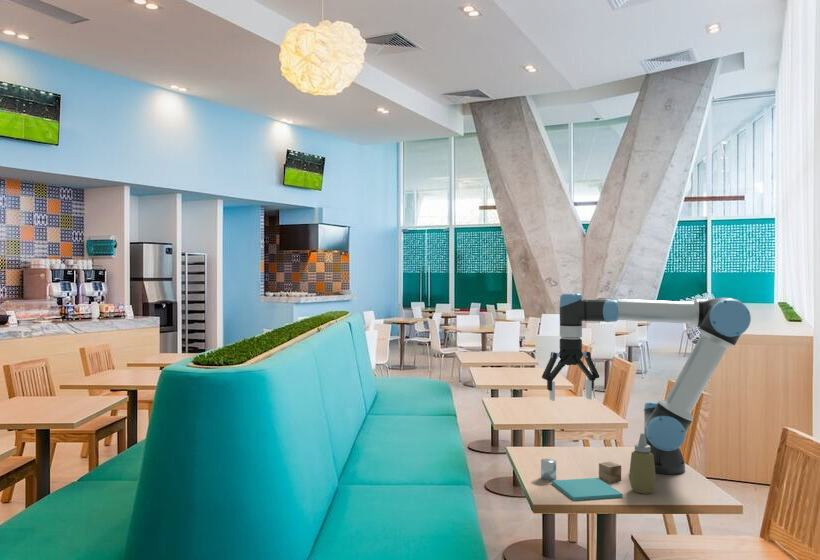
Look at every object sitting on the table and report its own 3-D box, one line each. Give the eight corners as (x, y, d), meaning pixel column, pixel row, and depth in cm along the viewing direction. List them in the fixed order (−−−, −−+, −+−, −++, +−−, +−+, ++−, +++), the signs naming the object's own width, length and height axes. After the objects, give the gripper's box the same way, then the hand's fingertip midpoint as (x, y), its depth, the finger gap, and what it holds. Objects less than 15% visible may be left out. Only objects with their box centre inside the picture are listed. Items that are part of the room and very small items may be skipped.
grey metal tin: (552, 476, 216) (552, 458, 216) (558, 480, 211) (558, 462, 211) (538, 477, 215) (538, 459, 215) (544, 481, 210) (544, 463, 210)
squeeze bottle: (624, 491, 200) (624, 434, 200) (634, 485, 206) (634, 429, 206) (650, 497, 195) (651, 438, 195) (659, 490, 201) (660, 433, 201)
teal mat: (597, 480, 211) (597, 477, 211) (622, 497, 195) (622, 493, 195) (551, 483, 208) (551, 480, 208) (573, 500, 192) (573, 497, 192)
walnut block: (610, 476, 216) (610, 461, 216) (621, 480, 211) (621, 465, 211) (598, 478, 214) (599, 463, 214) (609, 482, 209) (609, 467, 209)
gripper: (598, 336, 227) (598, 396, 228) (532, 337, 223) (532, 398, 223) (609, 338, 220) (609, 400, 220) (541, 339, 215) (540, 402, 215)
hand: (570, 399), depth 221 cm, fingers open, 13 cm apart
